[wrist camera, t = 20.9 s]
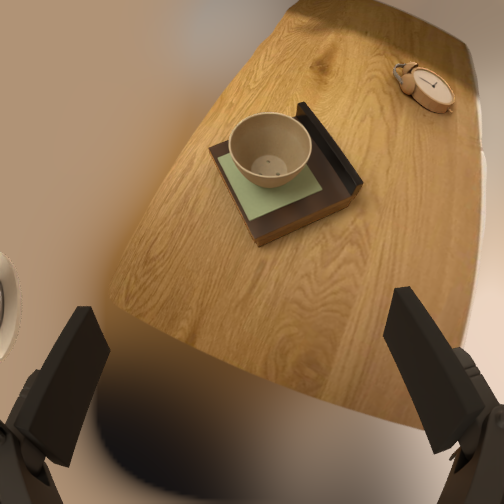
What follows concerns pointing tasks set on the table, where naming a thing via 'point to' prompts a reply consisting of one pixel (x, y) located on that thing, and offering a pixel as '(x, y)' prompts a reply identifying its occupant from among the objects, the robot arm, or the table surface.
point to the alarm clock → (425, 87)
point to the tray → (292, 186)
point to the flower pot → (270, 148)
